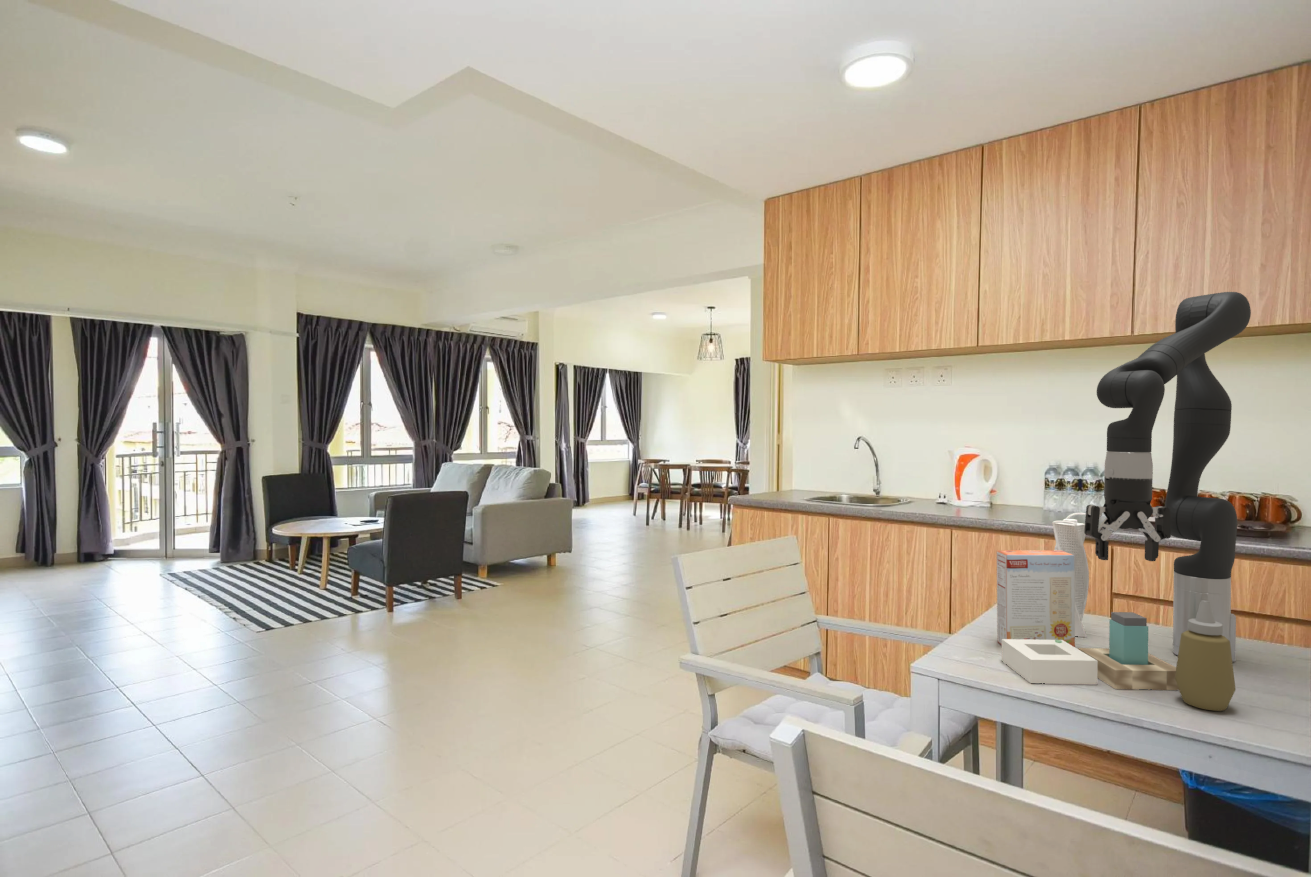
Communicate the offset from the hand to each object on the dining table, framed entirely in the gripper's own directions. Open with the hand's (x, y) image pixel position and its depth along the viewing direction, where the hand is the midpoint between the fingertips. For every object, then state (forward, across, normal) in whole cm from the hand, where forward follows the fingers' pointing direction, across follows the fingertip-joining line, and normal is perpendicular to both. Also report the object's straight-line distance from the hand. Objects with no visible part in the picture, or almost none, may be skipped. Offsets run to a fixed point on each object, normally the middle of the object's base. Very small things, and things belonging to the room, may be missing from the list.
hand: (1126, 560), depth 128 cm
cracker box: (+23, +9, -16) cm, 29 cm away
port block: (+23, +13, -1) cm, 26 cm away
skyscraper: (+22, -4, -27) cm, 35 cm away
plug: (+22, -1, 0) cm, 23 cm away
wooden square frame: (+22, -1, 0) cm, 23 cm away
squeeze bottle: (+23, -6, +12) cm, 27 cm away
